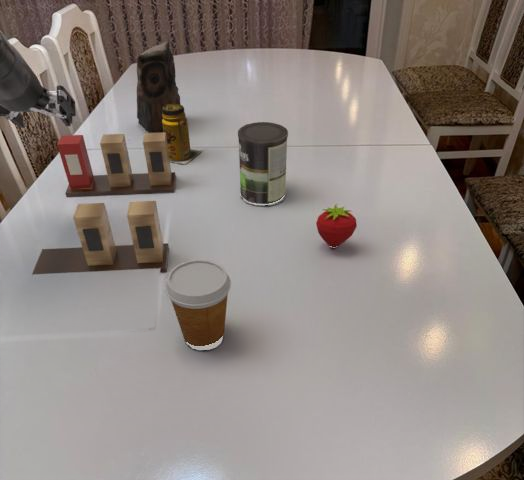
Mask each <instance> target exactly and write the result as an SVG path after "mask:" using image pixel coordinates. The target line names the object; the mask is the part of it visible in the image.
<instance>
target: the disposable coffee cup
mask: <svg viewBox="0 0 524 480" xmlns="http://www.w3.org/2000/svg"><path fill="white" fill-rule="evenodd" d="M231 287H232V281H231V278H230V276H229V274H228V273H227V271H226V268H225V267H223V266H222V265H221V264H220V263H218V262H215V261H213V260H208V259H191V260H186V261H184V262H180V263H178V264H177V265H175V266H174V267H172V269H171V270H169V272H168V273H167V276H166V280H165V282H164V292H165V294H166V296H167V297H168V298H169V299H170V301H171V305H172V307H173V311H174V313H175V316H176V319H177V322H178V325H179V328H180V330H181V334H182V337H183V339H185V340H184V342H185V341H186V342H188V343H189V344H191V345H194V346H205V345H209V344H212V343H215V342H216V341H218V340H219V339H220V338H221V337H222V336H223V334H224V335H225V329H226V328H225V327H226V320H227V319H226V316H227V305H228V296H229V295H228V294H229V293H230V289H231Z"/></svg>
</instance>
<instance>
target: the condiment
mask: <svg viewBox="0 0 524 480" xmlns="http://www.w3.org/2000/svg"><path fill="white" fill-rule="evenodd" d="M180 104H181V103H180ZM180 104H168V105H165V106H164V107H163V108H162V113H163V120H162V125H163V131H164V132H166V138H167V145H168V152H169V159H170V163H176V164H180V165H181V164H182V165H186V164H187V163H189V162H190V161H191V160H193V159H195V157H197V156H198V155H200V154H201V152H203V150H200V149H199V150H198V149H193V148H191V141H190V132H189V131H190V130H189V124H188V118H187V117H186V112H185V107H184V106H183V105H182V104H181V105H180Z"/></svg>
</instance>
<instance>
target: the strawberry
mask: <svg viewBox="0 0 524 480" xmlns="http://www.w3.org/2000/svg"><path fill="white" fill-rule="evenodd" d="M338 204H339V203H336V204H334V207H333V208H332V207H327V208H322V211H323V212H322V213H321V214H320V215H318V216H317V220H316V222H315V225H316V230H317V233H318V234H319V236H320V237H321V238H322V240H323V241H324V243H326V244H327V245H328V247H329V246H332V247H336V246H338V247H339V246H341V245H342V244H344V243H345V242H346V241H348V240H349V239H350V238H351V237H352V236H353V234H354V232H355V231H356V229H357V225H358V224H357V219H356V217H355V216H354V215H353V214H352V213H351V212H352V211H353V210H352V209H351V210H350V209H345V206H342V207H338V206H337V205H338Z"/></svg>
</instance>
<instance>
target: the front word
mask: <svg viewBox="0 0 524 480" xmlns="http://www.w3.org/2000/svg"><path fill="white" fill-rule="evenodd" d="M72 219H73V222H74V225H75V228H76V231H77V235H78V238H79V242H80V244H81V247H80V246H79V247H61V248H43V249H41V252H40V253H39V256H38V258H37V261H36V264H35V265H34V269H33V271H32V273H31V275H51V274H68V273H70V274H71V273H73V274H74V273H90V272H109V271H110V272H111V271H113V272H114V271H128V270H129V271H132V270H153V269H159V273H167V272H168V263H169V262H168V261H169V253H170V251H169V250H170V246H169V243H166V242H165V243H164V241H163V234H162V228H161V222H160V217H159V211H158V205H157V200H143V201H129V204H128V209H127V213H126V219H127V221H128V226H129V231H130V236H131V240H132V244H125V245H124V244H123V245H116V243H115V239H114V234H113V230H112V227H111V222H110V219H109V215H108V211H107V207H106V203H104V202H93V203H78V204H77V205H76V209H75V211H74V214H73V218H72Z"/></svg>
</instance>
